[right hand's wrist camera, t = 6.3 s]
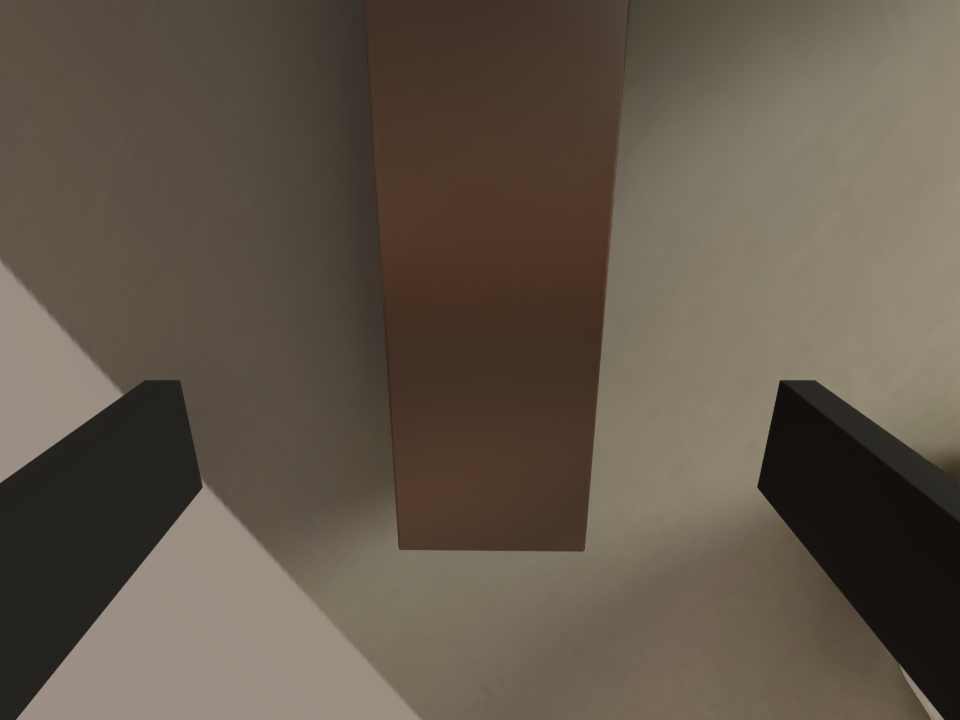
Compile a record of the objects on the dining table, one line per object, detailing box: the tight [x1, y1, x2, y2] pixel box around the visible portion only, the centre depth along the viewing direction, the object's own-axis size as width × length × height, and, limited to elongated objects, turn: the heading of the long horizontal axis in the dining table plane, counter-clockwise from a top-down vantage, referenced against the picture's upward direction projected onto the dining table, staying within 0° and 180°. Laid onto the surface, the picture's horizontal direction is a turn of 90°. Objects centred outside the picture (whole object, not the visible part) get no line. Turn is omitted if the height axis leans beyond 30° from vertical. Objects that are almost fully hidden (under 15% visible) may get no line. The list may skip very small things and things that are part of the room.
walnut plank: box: [364, 0, 630, 551], centre depth 14 cm, size 26×5×8 cm, turn 0°
